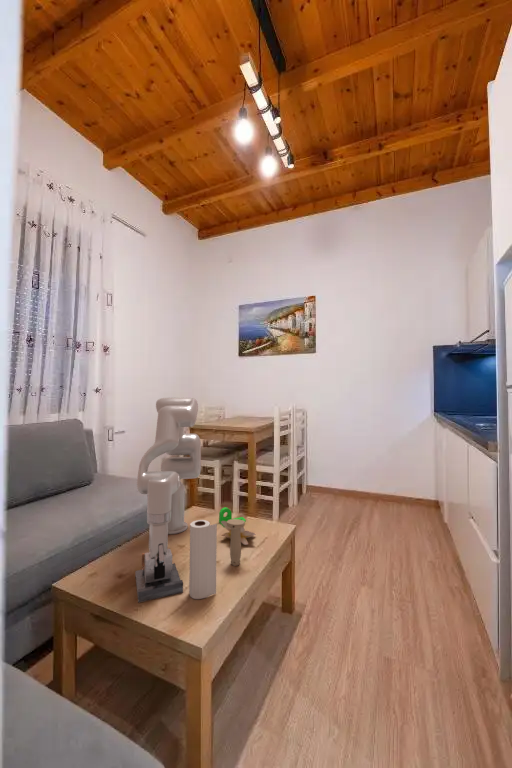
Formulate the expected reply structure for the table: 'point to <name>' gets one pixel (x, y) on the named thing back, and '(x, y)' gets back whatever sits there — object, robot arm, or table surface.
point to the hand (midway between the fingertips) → (158, 572)
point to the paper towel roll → (202, 559)
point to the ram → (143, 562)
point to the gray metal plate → (158, 586)
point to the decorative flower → (243, 533)
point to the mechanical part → (229, 515)
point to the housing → (151, 563)
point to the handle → (235, 540)
